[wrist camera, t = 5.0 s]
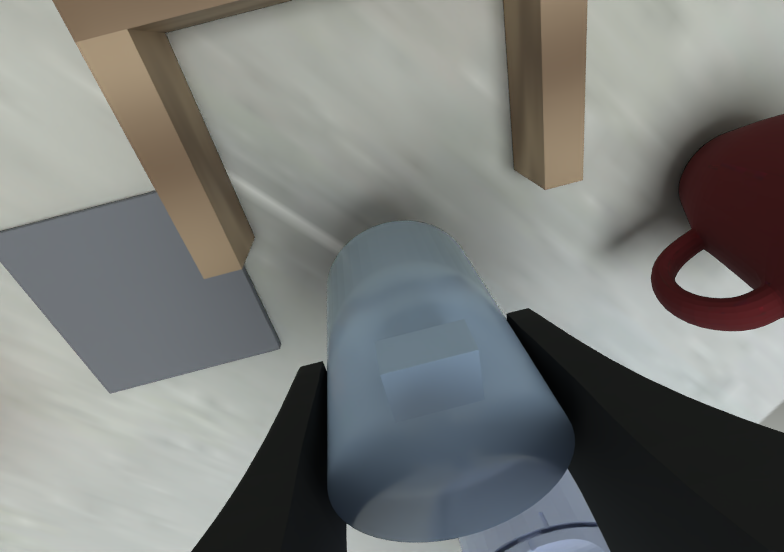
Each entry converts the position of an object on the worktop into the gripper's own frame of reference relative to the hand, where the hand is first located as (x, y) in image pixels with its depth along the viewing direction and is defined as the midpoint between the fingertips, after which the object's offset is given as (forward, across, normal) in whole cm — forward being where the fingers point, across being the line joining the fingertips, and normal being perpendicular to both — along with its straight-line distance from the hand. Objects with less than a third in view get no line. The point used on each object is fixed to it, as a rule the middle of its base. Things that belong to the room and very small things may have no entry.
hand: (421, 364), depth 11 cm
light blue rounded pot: (+4, 0, 0) cm, 4 cm away
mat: (+9, +11, 0) cm, 14 cm away
